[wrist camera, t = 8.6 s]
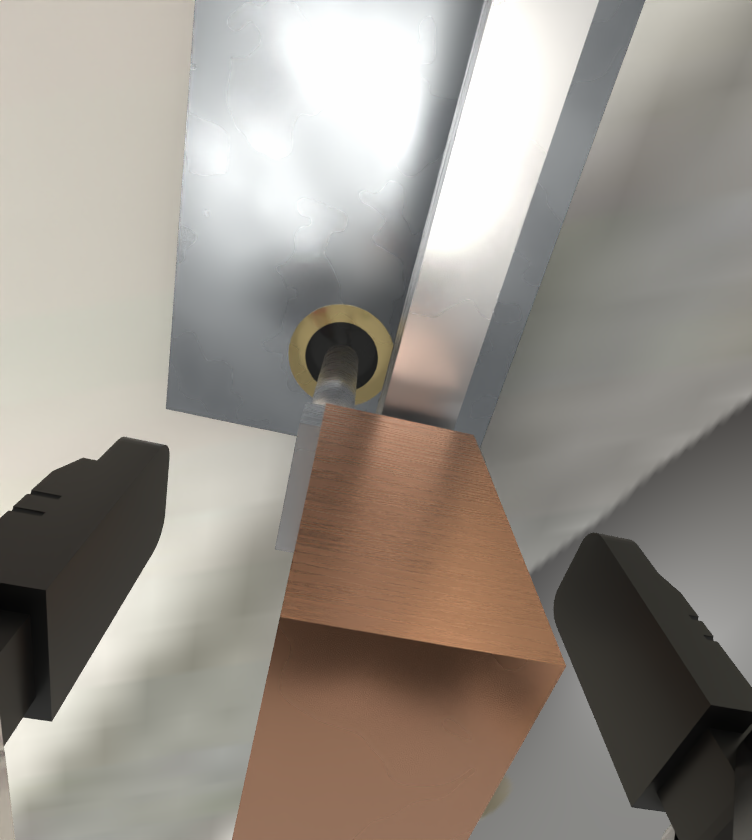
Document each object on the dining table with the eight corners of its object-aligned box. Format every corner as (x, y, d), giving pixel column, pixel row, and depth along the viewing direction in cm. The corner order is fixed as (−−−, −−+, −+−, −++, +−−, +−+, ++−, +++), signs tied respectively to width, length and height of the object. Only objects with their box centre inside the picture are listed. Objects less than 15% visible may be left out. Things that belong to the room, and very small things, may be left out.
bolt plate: (242, -448, 11) (-97, -2082, 3) (726, -261, 13) (1385, -1090, 4) (175, 398, 20) (38, 547, 12) (466, 460, 21) (525, 633, 13)
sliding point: (335, 300, 17) (236, 609, 5) (440, 325, 17) (603, 672, 5) (313, 408, 18) (197, 846, 6) (409, 429, 19) (475, 880, 7)
